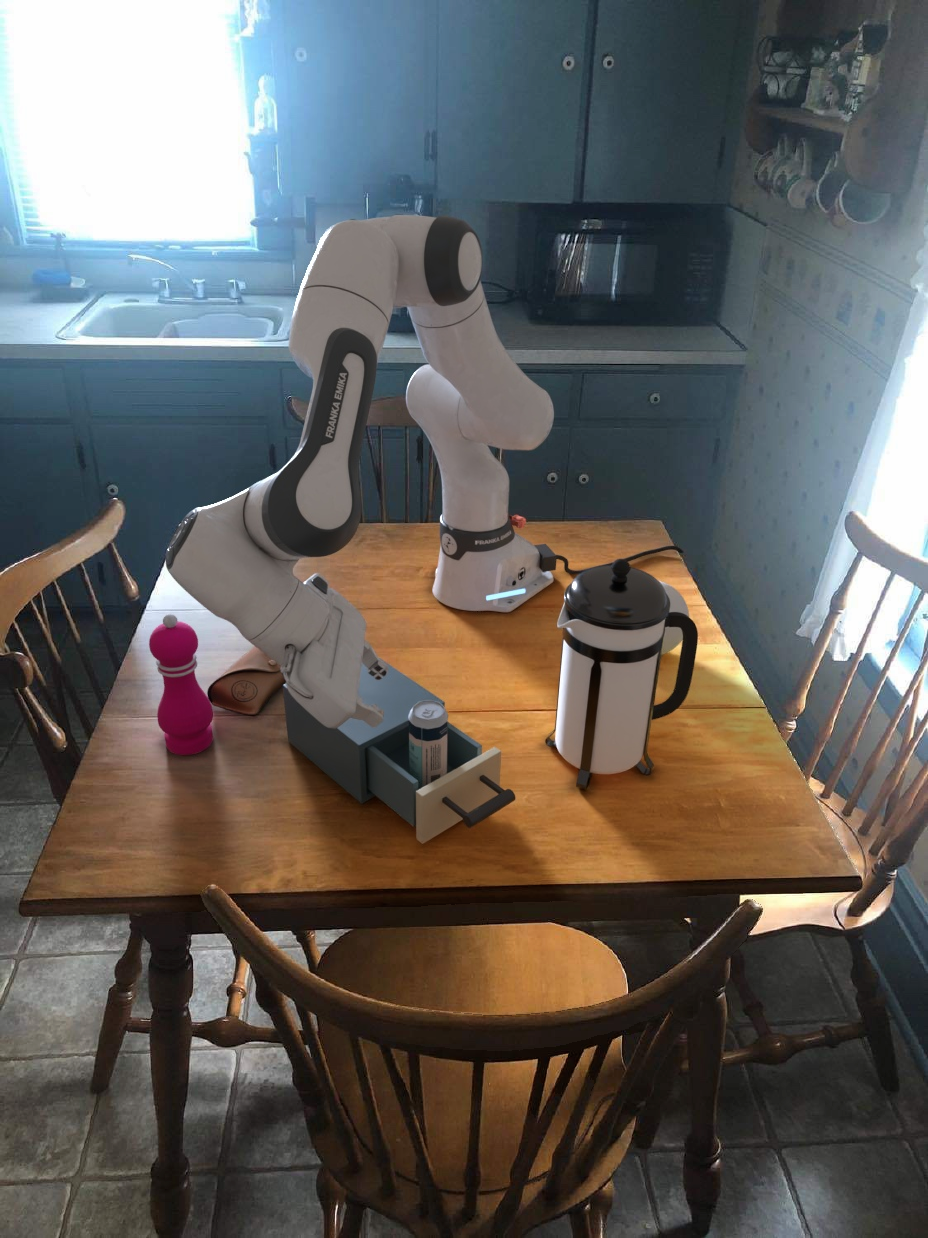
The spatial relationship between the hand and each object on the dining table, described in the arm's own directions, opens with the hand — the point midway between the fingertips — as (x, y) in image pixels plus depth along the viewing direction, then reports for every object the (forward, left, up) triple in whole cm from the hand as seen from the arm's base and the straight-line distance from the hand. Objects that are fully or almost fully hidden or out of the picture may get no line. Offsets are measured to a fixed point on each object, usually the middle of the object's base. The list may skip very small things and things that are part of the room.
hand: (381, 696), depth 112 cm
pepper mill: (+13, -27, -16) cm, 34 cm away
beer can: (-4, +4, -14) cm, 15 cm away
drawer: (-4, +5, -15) cm, 16 cm away
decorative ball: (-53, -1, -16) cm, 56 cm away
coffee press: (-28, +12, -16) cm, 35 cm away
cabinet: (-4, -10, -16) cm, 19 cm away
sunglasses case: (-3, -33, -16) cm, 37 cm away
